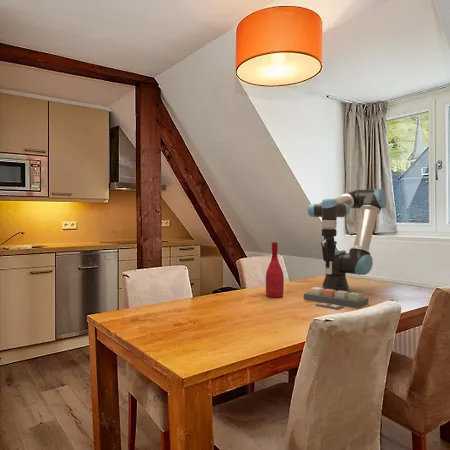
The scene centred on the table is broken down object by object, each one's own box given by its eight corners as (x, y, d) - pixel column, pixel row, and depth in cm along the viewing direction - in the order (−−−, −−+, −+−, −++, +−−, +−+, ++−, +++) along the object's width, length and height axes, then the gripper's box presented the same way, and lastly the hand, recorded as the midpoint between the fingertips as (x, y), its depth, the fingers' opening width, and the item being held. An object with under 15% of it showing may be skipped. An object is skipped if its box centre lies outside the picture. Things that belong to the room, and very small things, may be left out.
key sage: (347, 300, 196) (347, 293, 196) (352, 298, 200) (352, 292, 200) (357, 301, 193) (357, 295, 192) (361, 299, 196) (361, 293, 196)
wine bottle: (283, 294, 221) (283, 241, 220) (284, 298, 211) (284, 242, 211) (265, 294, 222) (265, 241, 221) (265, 298, 212) (265, 242, 212)
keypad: (303, 299, 209) (303, 293, 209) (315, 295, 218) (315, 290, 218) (358, 308, 189) (358, 302, 189) (368, 303, 198) (368, 298, 197)
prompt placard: (315, 305, 194) (315, 304, 194) (321, 303, 199) (321, 301, 199) (337, 309, 186) (337, 307, 186) (343, 307, 191) (343, 305, 191)
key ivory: (310, 294, 210) (310, 288, 210) (315, 292, 214) (315, 287, 214) (318, 295, 207) (318, 289, 207) (323, 294, 210) (323, 288, 210)
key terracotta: (322, 296, 205) (322, 290, 205) (326, 294, 209) (327, 288, 209) (331, 297, 202) (331, 291, 202) (335, 295, 206) (335, 289, 206)
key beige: (334, 298, 201) (334, 291, 201) (339, 296, 204) (339, 290, 204) (343, 299, 197) (343, 293, 197) (348, 297, 201) (348, 291, 201)
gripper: (329, 228, 197) (329, 275, 198) (341, 228, 207) (341, 273, 207) (316, 228, 202) (315, 274, 203) (328, 228, 212) (328, 271, 212)
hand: (328, 273), depth 205 cm, fingers closed
